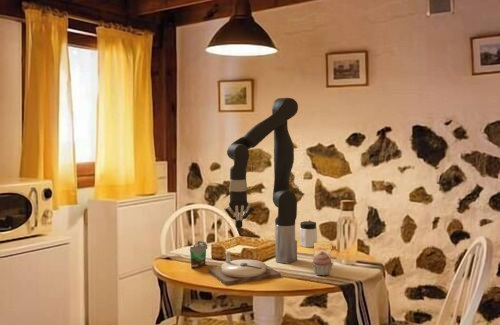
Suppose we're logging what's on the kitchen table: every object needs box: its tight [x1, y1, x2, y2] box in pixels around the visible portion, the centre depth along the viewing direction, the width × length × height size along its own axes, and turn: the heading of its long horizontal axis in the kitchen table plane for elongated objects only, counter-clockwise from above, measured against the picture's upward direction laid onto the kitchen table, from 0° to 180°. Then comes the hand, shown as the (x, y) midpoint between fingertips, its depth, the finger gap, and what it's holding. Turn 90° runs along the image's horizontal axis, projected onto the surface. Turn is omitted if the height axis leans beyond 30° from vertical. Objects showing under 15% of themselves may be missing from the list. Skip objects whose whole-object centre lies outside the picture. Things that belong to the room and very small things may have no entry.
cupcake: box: [310, 250, 334, 276], centre depth 232 cm, size 9×9×10 cm
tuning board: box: [207, 264, 282, 286], centre depth 233 cm, size 25×20×2 cm
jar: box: [299, 220, 318, 248], centre depth 282 cm, size 9×8×12 cm
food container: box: [189, 240, 209, 269], centre depth 248 cm, size 12×6×10 cm, turn 168°
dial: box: [221, 251, 267, 278], centre depth 233 cm, size 19×19×7 cm
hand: (238, 228), depth 240 cm, fingers closed
